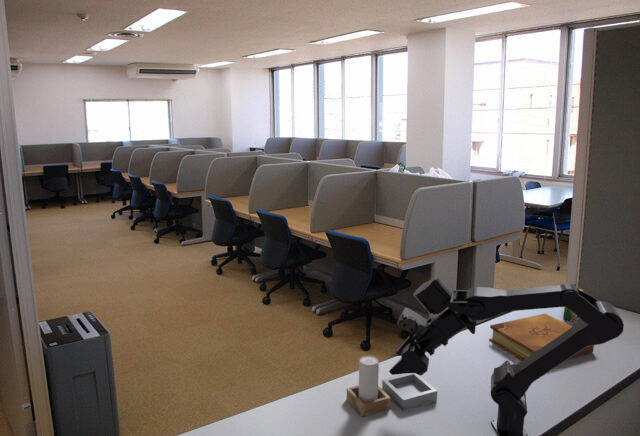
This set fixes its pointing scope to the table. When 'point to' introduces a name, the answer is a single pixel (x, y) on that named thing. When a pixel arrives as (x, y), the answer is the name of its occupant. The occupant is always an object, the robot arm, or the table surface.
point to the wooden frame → (370, 406)
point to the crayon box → (569, 312)
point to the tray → (409, 391)
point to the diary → (530, 335)
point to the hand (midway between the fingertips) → (393, 363)
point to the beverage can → (368, 378)
